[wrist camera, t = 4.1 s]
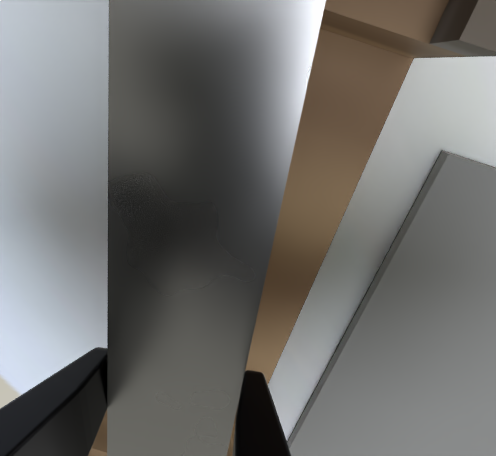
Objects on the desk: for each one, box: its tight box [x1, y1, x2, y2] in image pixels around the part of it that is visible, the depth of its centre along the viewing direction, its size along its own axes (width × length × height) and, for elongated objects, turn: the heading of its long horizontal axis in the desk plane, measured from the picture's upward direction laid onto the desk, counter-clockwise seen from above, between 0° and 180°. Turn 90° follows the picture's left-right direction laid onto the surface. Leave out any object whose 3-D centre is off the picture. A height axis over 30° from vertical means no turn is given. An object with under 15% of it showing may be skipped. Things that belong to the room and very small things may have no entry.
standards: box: [88, 0, 496, 456], centre depth 12 cm, size 22×7×6 cm, turn 163°
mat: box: [287, 150, 496, 456], centre depth 18 cm, size 10×26×1 cm, turn 164°
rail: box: [107, 0, 326, 456], centre depth 9 cm, size 22×3×3 cm, turn 171°
